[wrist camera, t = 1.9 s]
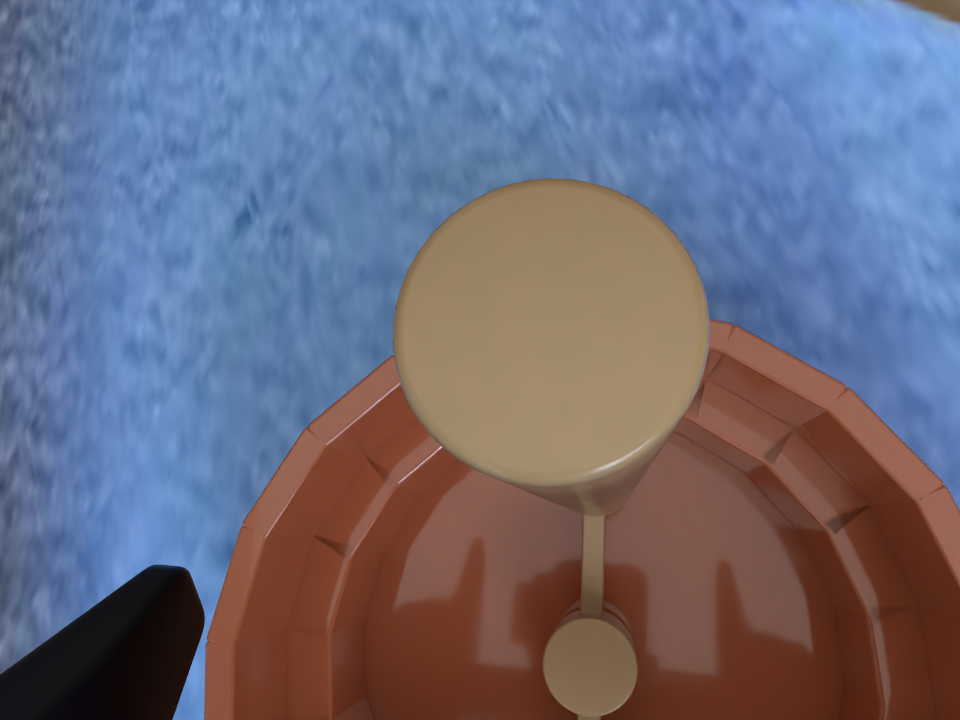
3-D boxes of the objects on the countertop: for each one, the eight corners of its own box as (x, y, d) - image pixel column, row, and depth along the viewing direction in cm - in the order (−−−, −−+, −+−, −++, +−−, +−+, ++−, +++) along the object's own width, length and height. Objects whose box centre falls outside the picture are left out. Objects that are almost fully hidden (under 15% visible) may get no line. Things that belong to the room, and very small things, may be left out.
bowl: (703, 1123, 17) (749, 1426, 11) (214, 721, 21) (60, 797, 15) (1015, 561, 18) (1201, 577, 13) (506, 269, 22) (468, 177, 16)
